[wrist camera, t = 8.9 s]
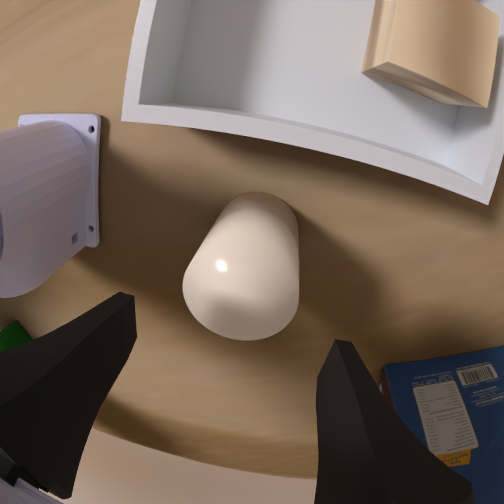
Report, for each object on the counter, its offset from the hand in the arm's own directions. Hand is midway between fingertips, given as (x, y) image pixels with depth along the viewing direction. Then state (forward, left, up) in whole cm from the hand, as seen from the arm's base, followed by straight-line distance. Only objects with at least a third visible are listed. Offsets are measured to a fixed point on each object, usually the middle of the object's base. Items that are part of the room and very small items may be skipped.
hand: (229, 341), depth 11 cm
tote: (+13, -2, -10) cm, 16 cm away
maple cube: (+13, -6, -9) cm, 17 cm away
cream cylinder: (0, 0, -10) cm, 10 cm away
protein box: (-12, -21, -10) cm, 26 cm away
